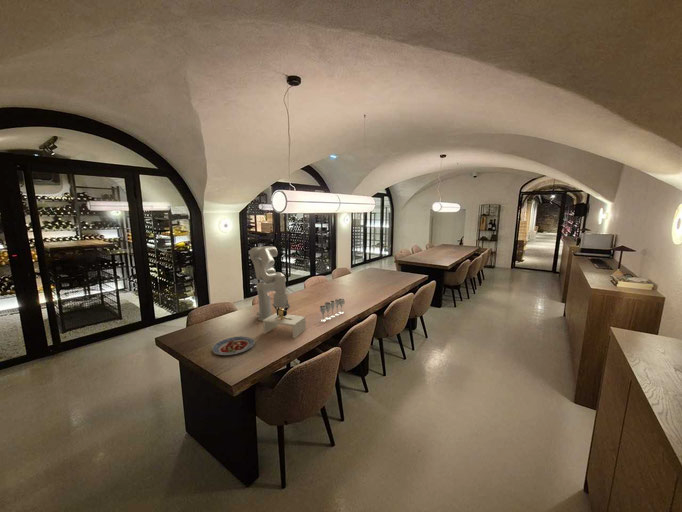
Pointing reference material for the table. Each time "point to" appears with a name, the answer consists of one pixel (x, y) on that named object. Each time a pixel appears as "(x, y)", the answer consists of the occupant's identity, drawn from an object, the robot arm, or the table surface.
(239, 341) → the ceramic plate
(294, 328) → the keyhole shelf
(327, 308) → the goblet set
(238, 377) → the table surface
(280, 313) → the brass capped stopper
